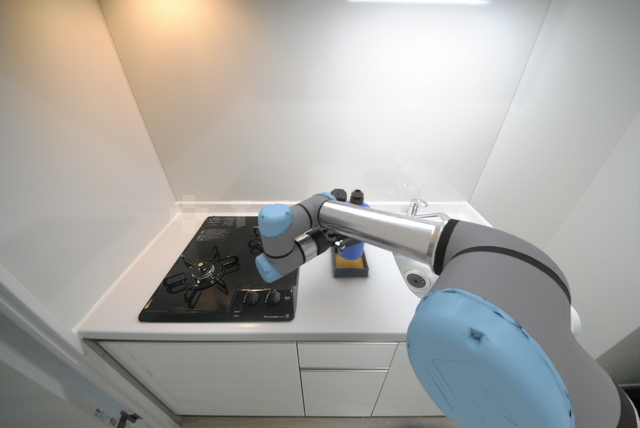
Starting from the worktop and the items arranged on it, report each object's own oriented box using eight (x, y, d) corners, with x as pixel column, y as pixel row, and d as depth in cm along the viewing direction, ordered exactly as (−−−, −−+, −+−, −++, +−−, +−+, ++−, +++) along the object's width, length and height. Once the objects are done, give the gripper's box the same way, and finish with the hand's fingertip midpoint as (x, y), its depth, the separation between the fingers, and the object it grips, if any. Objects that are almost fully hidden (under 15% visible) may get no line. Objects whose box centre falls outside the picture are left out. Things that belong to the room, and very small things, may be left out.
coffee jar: (329, 219, 107) (330, 186, 96) (345, 220, 106) (347, 187, 96) (327, 230, 99) (328, 196, 89) (344, 232, 98) (347, 197, 88)
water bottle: (360, 263, 72) (372, 200, 58) (334, 257, 74) (339, 195, 60) (364, 245, 79) (375, 186, 65) (340, 240, 81) (345, 182, 67)
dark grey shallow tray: (367, 276, 77) (369, 269, 74) (334, 277, 76) (334, 269, 74) (357, 235, 96) (358, 228, 94) (331, 235, 96) (331, 228, 94)
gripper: (290, 235, 68) (340, 212, 80) (335, 277, 55) (387, 241, 67) (289, 217, 64) (341, 195, 76) (336, 256, 51) (391, 222, 62)
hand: (362, 216), depth 71 cm, fingers closed on water bottle, 9 cm apart
